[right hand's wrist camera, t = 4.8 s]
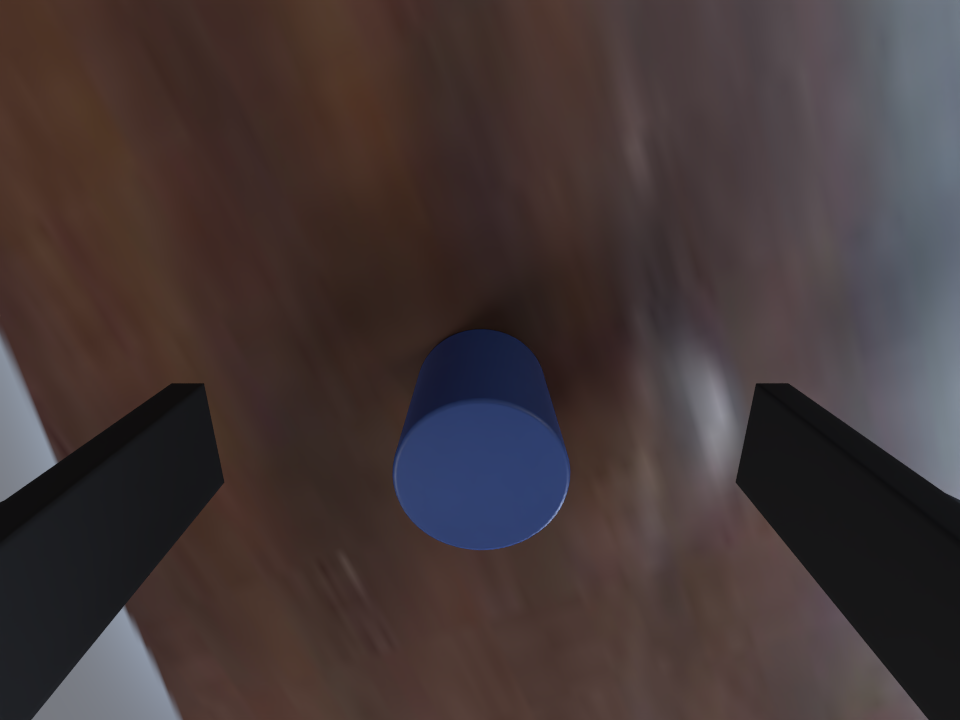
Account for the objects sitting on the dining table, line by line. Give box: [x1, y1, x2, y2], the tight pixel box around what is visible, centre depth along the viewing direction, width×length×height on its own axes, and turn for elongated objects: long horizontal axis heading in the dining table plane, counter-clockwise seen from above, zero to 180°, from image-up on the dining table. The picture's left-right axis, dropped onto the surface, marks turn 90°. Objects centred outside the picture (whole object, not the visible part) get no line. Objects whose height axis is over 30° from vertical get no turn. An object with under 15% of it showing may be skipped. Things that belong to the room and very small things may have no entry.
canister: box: [393, 329, 570, 550], centre depth 13 cm, size 4×4×5 cm
